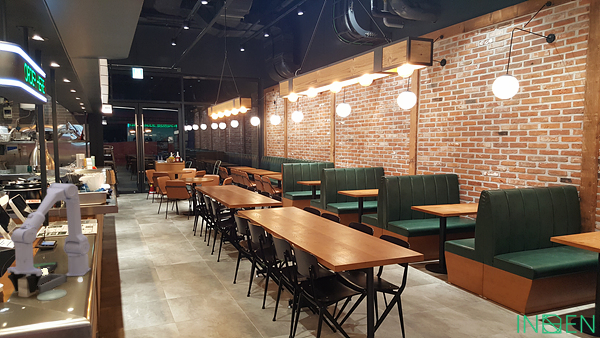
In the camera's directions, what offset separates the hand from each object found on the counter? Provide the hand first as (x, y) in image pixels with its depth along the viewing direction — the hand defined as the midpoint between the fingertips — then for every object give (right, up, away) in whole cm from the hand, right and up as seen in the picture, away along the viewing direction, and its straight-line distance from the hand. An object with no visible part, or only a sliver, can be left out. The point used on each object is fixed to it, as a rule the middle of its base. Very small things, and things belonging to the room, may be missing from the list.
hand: (25, 291), depth 156 cm
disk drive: (-12, 0, +27) cm, 30 cm away
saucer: (+10, -2, 0) cm, 11 cm away
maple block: (0, -2, +1) cm, 2 cm away
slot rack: (+2, -1, +9) cm, 9 cm away
